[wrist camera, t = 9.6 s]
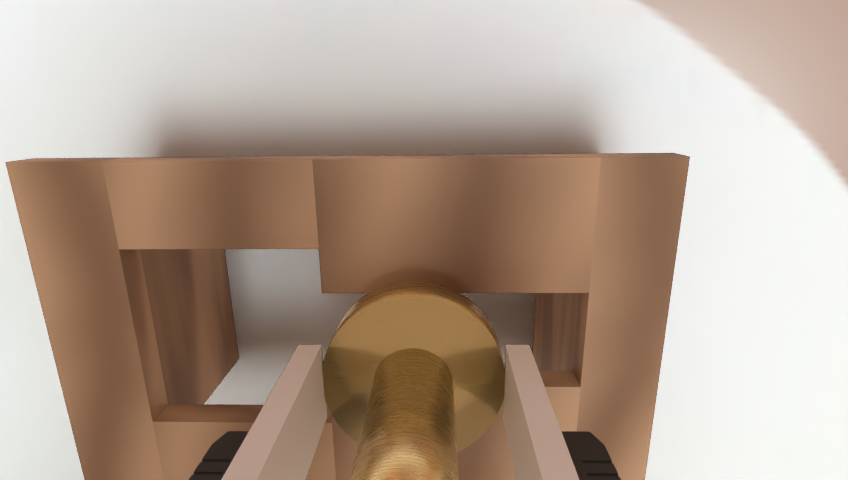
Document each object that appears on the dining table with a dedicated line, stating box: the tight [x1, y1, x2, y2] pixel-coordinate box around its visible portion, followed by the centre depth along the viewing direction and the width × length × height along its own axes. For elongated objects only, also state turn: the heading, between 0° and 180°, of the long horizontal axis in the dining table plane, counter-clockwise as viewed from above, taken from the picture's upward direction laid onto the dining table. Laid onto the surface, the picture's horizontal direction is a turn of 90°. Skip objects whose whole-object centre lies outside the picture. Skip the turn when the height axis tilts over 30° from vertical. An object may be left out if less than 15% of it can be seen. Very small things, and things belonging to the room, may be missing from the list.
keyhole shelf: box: [6, 153, 690, 480], centre depth 23 cm, size 24×14×9 cm, turn 91°
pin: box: [322, 281, 505, 480], centre depth 14 cm, size 6×6×16 cm
